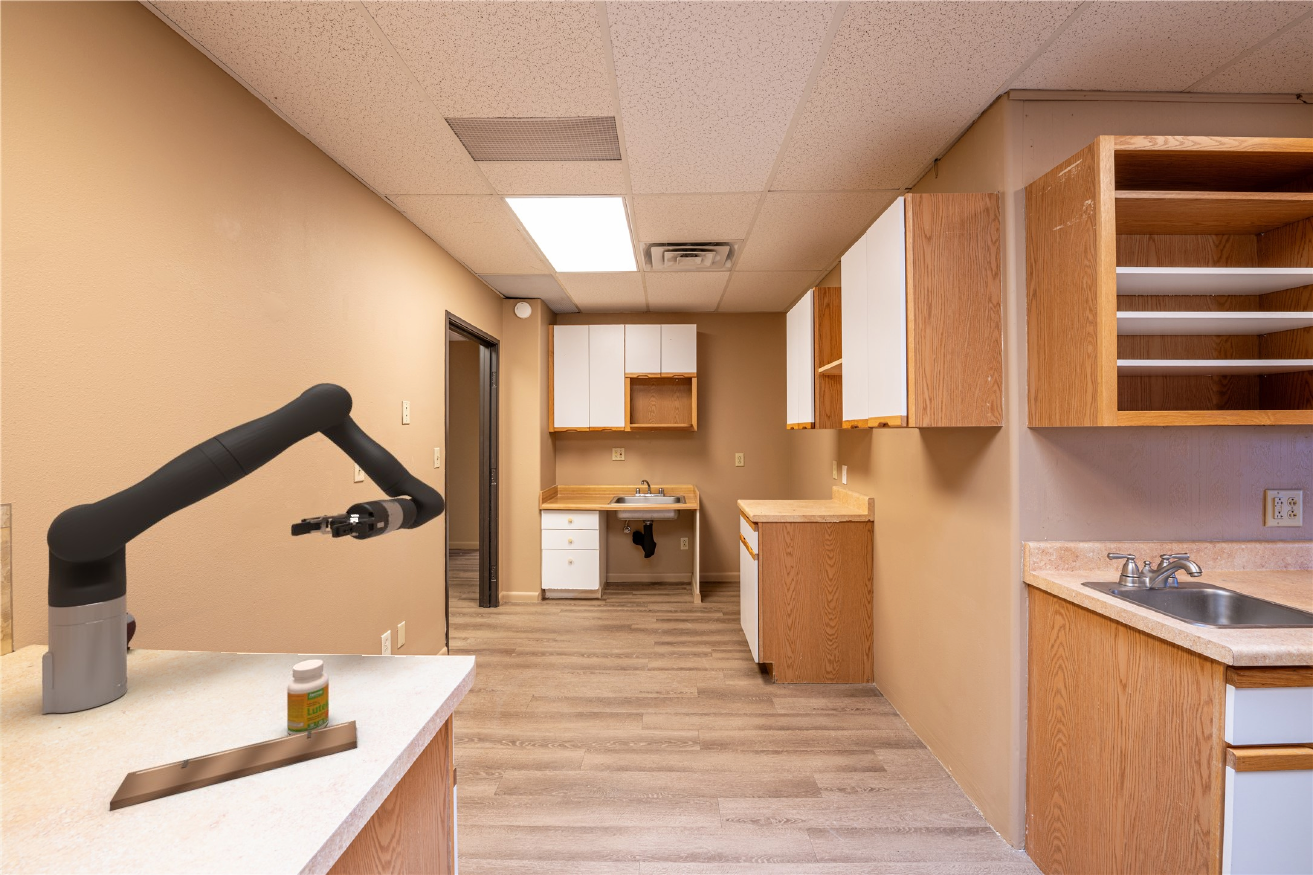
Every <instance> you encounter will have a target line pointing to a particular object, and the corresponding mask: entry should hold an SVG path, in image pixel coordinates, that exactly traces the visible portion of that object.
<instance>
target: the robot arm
mask: <svg viewBox="0 0 1313 875" xmlns="http://www.w3.org/2000/svg"><path fill="white" fill-rule="evenodd" d="M353 404H354V402H353V398H352V395H351V393H350V392H349V391H348V390H347V389H346V388H344V387H343V386H342V385H340V384H339V385H338V384H335V383H328V382H322V383H318V384H317V383H316V384H315V385H312V386H311V387H309V388H307V389H305V390H304V391H303V392H302V393H301V394H299V396H297V397H296V398H294V399H293V400H291V401H289V402H288V403H286V404H284V405H283V406H282V407H280V408H278V409H276V410H275V411H273V412H270V413H268V414H265V415H263V416H261V417H258V418H254V419H253V420H249V421H247V422H245V423H242V424H239V425H238V426H237V425H236V426H235V427H232V428H230V429H227V430H225V431H222V432H221V433H218V434H215V435H214V436H213V437H210V438H208V439H206V440H205V441H202V442H201V443H198V444H197V445H195V446H193V447H191V448H189V449H188V450H185V451H183V452H182V453H181V454H179V455H176V457H174V458H173V459H171V460H169V461H168V462H167V463H165V464H164V465H162V466H161V467H160V468H158V469H157V470H155V471H154V472H152V473H150V475H148V476H147V477H145V478H144V479H142V480H141V481H138V482H137V483H135V484H133V485H130V487H127V488H124V489H123V490H120V491H119V492H116V493H113V494H112V495H109V496H107V497H104V498H102V499H99V500H98V501H95V502H93V503H92V502H91V503H84V504H83V503H82V504H78V505H75V506H71V507H70V508H67V509H65V510H63V511H62V512H60V513H59V514H58V515H57V516H56V517H55V518H54V519H53V520H52V521H51V524H50V526H49V527H48V530H47V534H46V543H47V546H48V580H47V583H48V584H47V626H48V627H47V631H48V632H47V634H48V636H47V637H48V638H47V642H48V643H47V644H48V646H47V648H48V650H47V651H46V652H45V653H44V654H42V657H41V659H42V660H41V669H42V670H41V671H42V673H41V676H42V677H41V678H42V680H41V681H42V682H41V683H42V684H41V685H42V691H41V693H42V694H41V696H42V699H41V700H42V701H41V702H42V705H41V707H42V708H41V709H42V710H41V711H42V715H44V714H51V713H53V714H56V713H57V714H62V713H64V714H65V713H72V712H80V711H83V710H87V709H92V708H96V707H99V706H102V705H105V704H108V703H111V702H112V701H115V700H117V699H119V698H120V697H122V696H124V695H125V694H126V693H127V691H128V665H127V664H128V659H127V658H128V655H127V654H128V650H127V609H128V608H127V607H128V606H127V603H128V602H127V601H128V600H127V581H128V580H127V558H126V557H127V556H126V555H127V552H126V551H127V548H126V544H128V543H129V542H131V541H132V540H134V539H135V538H136V537H138V536H139V535H141V534H142V533H144V532H146V531H147V530H148V529H150V528H151V527H153V526H154V525H156V524H158V523H159V522H161V521H162V520H164V519H166V518H167V517H169V516H170V515H173V514H175V513H177V512H179V511H181V510H183V509H185V508H188V507H190V506H192V505H194V504H196V503H199V502H200V501H202V500H204V499H207V498H208V497H210V496H212V495H214V494H216V493H217V492H220V491H221V490H224V489H226V488H227V487H230V486H231V485H233V484H235V483H236V482H238V481H240V480H242V479H243V478H245V477H247V476H249V475H250V474H252V473H253V472H255V471H257V470H258V469H260V468H262V467H263V466H265V465H266V464H268V463H269V462H270V461H272V460H273V459H274V458H276V457H279V455H281V454H282V453H283V452H285V451H287V449H289V448H290V447H292V446H293V445H295V444H297V443H298V442H300V441H303V440H304V439H307V438H309V437H311V436H313V435H315V434H318V433H321V434H322V435H323V436H324V437H326V438H327V439H328V440H330V441H331V442H332V443H333V444H334V445H336V446H337V447H338V448H339V449H340V450H341V451H342V452H344V454H346V455H347V456H348V457H349V458H350V459H351V460H352V461H353V462H354V463H355V464H356V465H357V466H358V467H359V469H360V470H362V471H363V472H364V474H366V475H367V477H368V478H370V480H371V481H372V482H373V483H374V484H375V485H376V486H377V488H379V489H380V490H381V491H382V492H383V493H384V494H385V495H386V496H387V497H389V498H390V499H389V498H388V499H376V500H368V501H363V502H357V503H354V504H352V505H351V506H350V507H349V508H348V509H347V510H346V511H345V513H344V512H343V513H341V512H340V513H337V514H335V515H327V514H324V515H322V516H320V515H319V516H315V517H310V518H309V517H308V518H307V517H306V518H303V519H301V520H300V522H296V523H292V524H291V528H290V530H291V531H290V532H291V533H290V535H291V536H292V537H298V536H299V537H300V536H303V535H308V534H309V535H310V534H311V535H312V534H317V533H320V534H321V535H331V538H334V539H337V538H342V537H347V536H350V537H351V538H353V539H355V540H357V541H364V540H368V539H372V538H375V537H380V536H383V535H387V534H389V533H392V532H395V531H397V530H402V529H403V530H414V529H417V528H419V527H421V526H423V525H425V524H427V523H428V522H430V521H433V520H434V519H435V518H438V517H439V516H441V515H442V514H443V513H444V511H445V510H446V503H445V499H444V498H443V496H442V495H441V493H440V492H438V490H437V489H435V488H434V487H432V486H430V485H429V484H427V483H425V482H423V481H422V480H421V479H419V478H417V477H416V476H414V475H413V474H411V472H409V470H408V469H407V468H406V467H405V466H404V465H403V464H402V462H400V461H399V459H398V458H396V457H395V456H394V455H393V454H392V453H391V452H390V451H389V450H388V449H386V448H385V447H384V446H383V445H381V444H380V443H379V442H377V441H376V440H374V439H373V438H372V437H371V436H369V435H368V433H366V432H365V431H364V430H363V429H362V428H361V427H360V426H359V425H358V424H357V423H356V421H354V419H353V418H352V417H351V412H352V409H353ZM403 496H405V497H403ZM406 496H407V497H409V498H406ZM327 529H330V530H327Z"/></svg>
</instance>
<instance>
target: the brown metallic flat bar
mask: <svg viewBox="0 0 1313 875" xmlns="http://www.w3.org/2000/svg"><path fill="white" fill-rule="evenodd" d="M356 721H357V720H356V719H355V720H351V721H347V722H343V723H342V722H341V723H337V724H333V725H329V726H325V727H323V728H320V729H316V730H311V731H307V732H303V733H298V734H294V735H291V734H289V735H286V736H281V737H277V738H274V739H269V740H265V741H260V742H256V743H251V744H247V745H243V746H238V747H235V748H230V749H226V750H221V751H217V752H214V753H209V754H205V755H200V756H195V757H192V758H187V759H183V760H179V761H175V762H170V763H166V764H162V765H158V766H153V767H148V768H144V769H139V770H136V771H131V772H127V774H126V775H125V777H124V779H122V780H123V781H122V782H121V784H120V785H119V786H118V788H117V790H116V791H115V793H114V795H113V796H112V798H111V800H110V801H109V811H114V810H117V809H121V808H122V809H123V808H125V807H130V806H133V805H136V804H140V803H145V802H149V801H152V800H156V799H157V800H158V799H161V798H164V797H167V796H168V797H169V796H172V795H173V796H174V795H176V794H180V793H184V792H188V791H192V790H196V789H200V788H203V787H208V786H211V785H216V784H219V783H223V782H227V781H231V780H235V779H240V778H243V777H247V776H251V775H254V774H258V773H262V772H266V771H270V770H274V769H275V770H276V769H278V768H283V767H286V766H290V765H294V764H298V763H301V762H305V761H309V760H313V759H317V758H322V757H325V756H328V755H329V756H330V755H333V754H337V753H341V752H345V751H348V750H352V749H355V748H357V747H358V742H357V741H358V739H357V738H358V736H357V722H356Z"/></svg>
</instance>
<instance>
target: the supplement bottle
mask: <svg viewBox="0 0 1313 875" xmlns="http://www.w3.org/2000/svg"><path fill="white" fill-rule="evenodd" d="M323 672H324V661H323V660H322V659H307V660H303V661H301V662H300V661H299V662H298V663H296V664H294V665H293V667H292V678H293V679H291V680H290V681H289V682H288V684H287V687H286V689H287V690H286V691H287V692H286V694H287V695H286V696H287V697H286V698H287V699H286V700H287V702H286V704H287V705H286V706H287V708H286V709H287V710H286V711H287V716H286V717H287V719H286V720H287V721H286V722H287V723H286V724H287V725H286V727H287V728H286V729H287V732H288V734H289V735H294V734H298V733H303V732H307V731H311V730H316V729H320V728H324V727H327V724H328V722H329V717H330V716H329V713H330V709H329V706H330V704H329V700H330V696H329V695H330V694H329V688H330V687H329V684H330V683H329V681H330V680H329V679H330V678H329V677H328V675H327V674H326V673H323Z"/></svg>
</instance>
